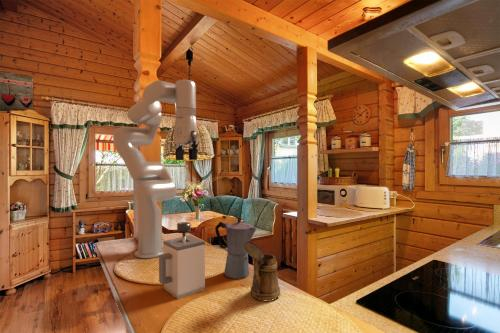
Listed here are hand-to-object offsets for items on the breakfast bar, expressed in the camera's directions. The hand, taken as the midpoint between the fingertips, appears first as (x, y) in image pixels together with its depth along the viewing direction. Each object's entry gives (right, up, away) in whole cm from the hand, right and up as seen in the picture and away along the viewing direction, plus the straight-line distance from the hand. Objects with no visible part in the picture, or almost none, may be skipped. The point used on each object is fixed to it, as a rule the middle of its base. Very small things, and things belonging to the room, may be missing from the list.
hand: (186, 160), depth 105 cm
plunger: (+3, -36, -18) cm, 40 cm away
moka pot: (+19, -41, -7) cm, 45 cm away
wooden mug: (+27, -41, -23) cm, 54 cm away
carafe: (+2, -41, -19) cm, 45 cm away
